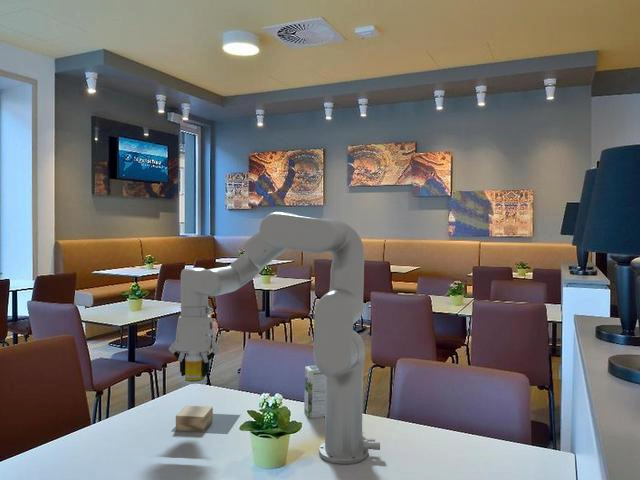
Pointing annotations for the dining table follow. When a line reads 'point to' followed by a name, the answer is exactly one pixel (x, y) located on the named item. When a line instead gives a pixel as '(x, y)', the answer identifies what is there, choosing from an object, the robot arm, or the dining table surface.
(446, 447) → the dining table surface
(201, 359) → the supplement bottle
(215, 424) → the mat
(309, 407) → the syrup box
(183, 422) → the oak block
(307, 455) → the dining table surface
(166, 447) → the dining table surface
